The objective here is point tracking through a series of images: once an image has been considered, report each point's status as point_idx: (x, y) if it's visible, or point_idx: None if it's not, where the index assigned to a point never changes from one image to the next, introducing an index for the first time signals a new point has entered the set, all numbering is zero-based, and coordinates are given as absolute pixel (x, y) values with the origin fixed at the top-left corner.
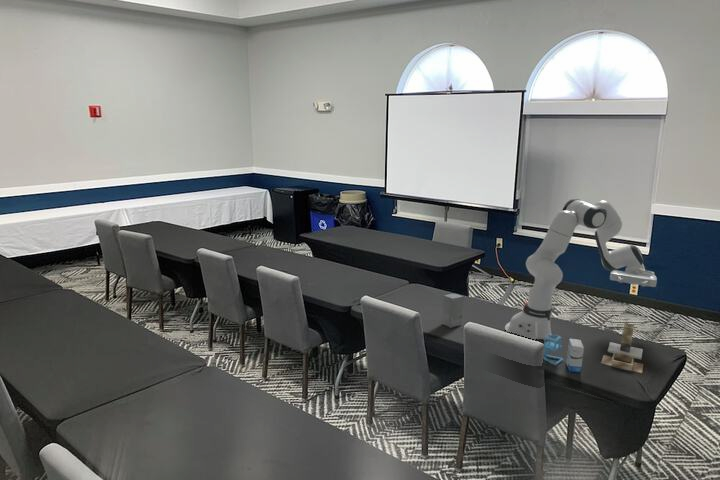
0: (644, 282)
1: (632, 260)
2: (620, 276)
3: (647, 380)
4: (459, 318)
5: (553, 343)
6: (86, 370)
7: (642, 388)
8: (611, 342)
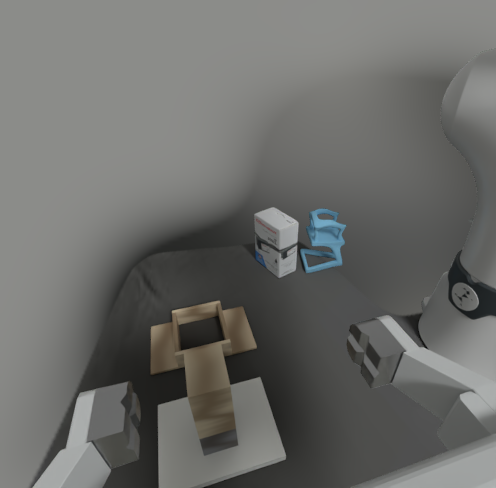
0: (82, 418)
1: None
2: (484, 415)
3: (138, 310)
4: None
5: (330, 240)
6: None
7: (147, 280)
8: (280, 455)
